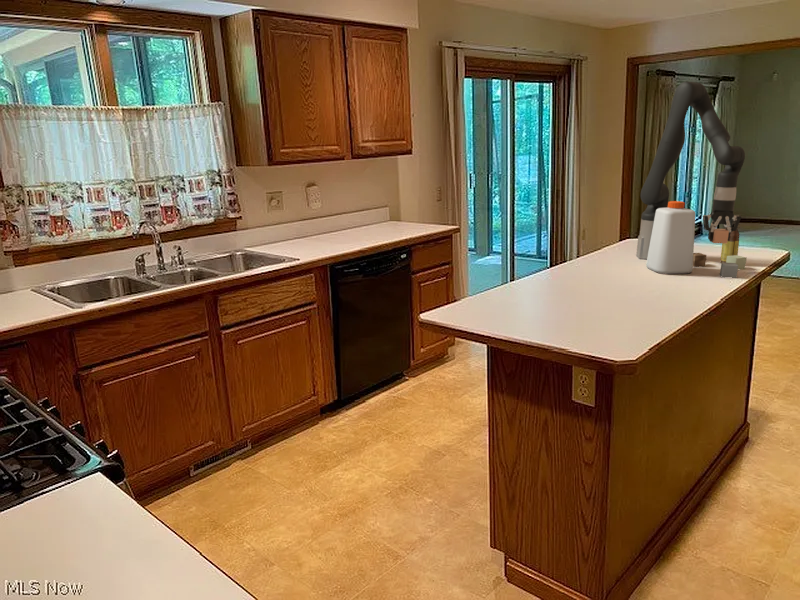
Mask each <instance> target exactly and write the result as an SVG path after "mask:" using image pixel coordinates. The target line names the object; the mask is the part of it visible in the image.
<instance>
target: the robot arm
mask: <svg viewBox="0 0 800 600" xmlns="http://www.w3.org/2000/svg"><path fill="white" fill-rule="evenodd" d="M690 107H691V108H693V109H694V110H695V111H696V113H697V114H698V115H699V118H700V122H701V128H702V132H703V134H704V136H705V137H706V139H707V140H708V142H709V143H710V145H711V148H712V151H713V152H712V153H713V155H714V158H715V160H716V161H717V162H718V163H719V164H720V165H722V166H725V167H724V169H723V170H722V171H720V172H719V173H718V174H717V179H716V185H715V190H714V195H713V201H712V209H711V212H710V214H703V215H702V224H703V229H704V230H705V231H707V232H708V236H707V239H708V240H709V242H710V241H713V235H714V232H713V231H714V230H715V229H717V227H718V225H723V226H724V229H726V230H728V231H729V234H728V240H729V239H730V233H731V232H732V231H736V229H738V226H739V224H740V222H741V219H742V216H740V215H739V214H737V215H735V214H734V210H735V204H736V198H737V185H738V180H739V178H738V177H739V175H740V173H741V170H742V169H743V168H742V167H743V165H744V162H745V158H746V153H745V149H743V148H742V147H741V146H738V145H737V146H735V145H733V146H731V145H730V144H729V141H730V140H731V135H730V133H729V131H728V130H727V128H726V126H725V124H723V122H722V120H721V119H720V117H719V116H718V113H717V111H716V109H715V108H714V105H713V102H712V100H711V98H710V95H709V93H708V91H707V89H706V87H705V85H704V84H702V82H696V81H683V82H681V83H680V84H679V85H678V86H677V87H676V89H675V91H674V94H673V97H672V101H671V105H670V109H669V114H668V117H667V120H666V123H665V126H664V130H663V133H662V135H661V138H660V140H659V144H658V147H657V149H656V152H655V153H656V154H655V156H654V159H653V161H652V163H651V167H650V170H649V172H648V175H647V176H646V178H645V181H644V184H643V186H642V188H641V190H640V200H641V202H642V203H643V204H644V205H647V206H646V208H645V210H644V211H643V212H642V213H641V218H640V227H639V228H640V229H639V235H638V236H637V243H636V244H637V245H636V254H635V255H636V257H637V258H638V259H642V260H647V257H648V251H649V246H650V240H651V235H652V229H653V224H654V218H655V213H656V210H657V209H658V208H667V207H668V202H669V199H670V189H669V187H668V186H667V185H666V184H665V183H664V181H665V178H666V176H667V174H668V172H669V171H670V170H671V169H672V168H673V166H674V165H675V164H676V162H677V160H678V159H679V157H680V155H681V153H682V150H683V147H684V145H685V141H686V129H685V120H686V116H687V113H688V111H689V108H690ZM732 218H733V220H734V222H733V224H732V227H730V222H729V221H730V220H731V219H732ZM711 219H712V221H711V223H709V221H710V220H711Z"/></svg>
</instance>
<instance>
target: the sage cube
mask: <svg viewBox="0 0 800 600" xmlns="http://www.w3.org/2000/svg"><path fill="white" fill-rule="evenodd" d="M726 263H736V264H737V265H738V269H742V270H746V269H745V268H746V264H747V257H745V256H743V255H739V254H738V255H733V256H727V259H726Z"/></svg>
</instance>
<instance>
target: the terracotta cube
mask: <svg viewBox="0 0 800 600" xmlns="http://www.w3.org/2000/svg"><path fill="white" fill-rule="evenodd" d="M713 232H714V235H713V241H709V242H710V243H713V244H722V243H727V241H728V234H729V231H728V230H726V229H725V228H715V230H714V231H713Z"/></svg>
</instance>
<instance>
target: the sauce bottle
mask: <svg viewBox="0 0 800 600" xmlns="http://www.w3.org/2000/svg"><path fill="white" fill-rule="evenodd" d="M729 222H730V227H732V224H733V222H734V220H733V218H732V219H731V220H730V221H729ZM739 247H740V232H739V230H738V228H737V229H736V231H732V232H731V233H730V239H729V240H728V241H727V243H721V251H720V263H721V262H724V263H726V259H727V256H733V255H738V256H739Z"/></svg>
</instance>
